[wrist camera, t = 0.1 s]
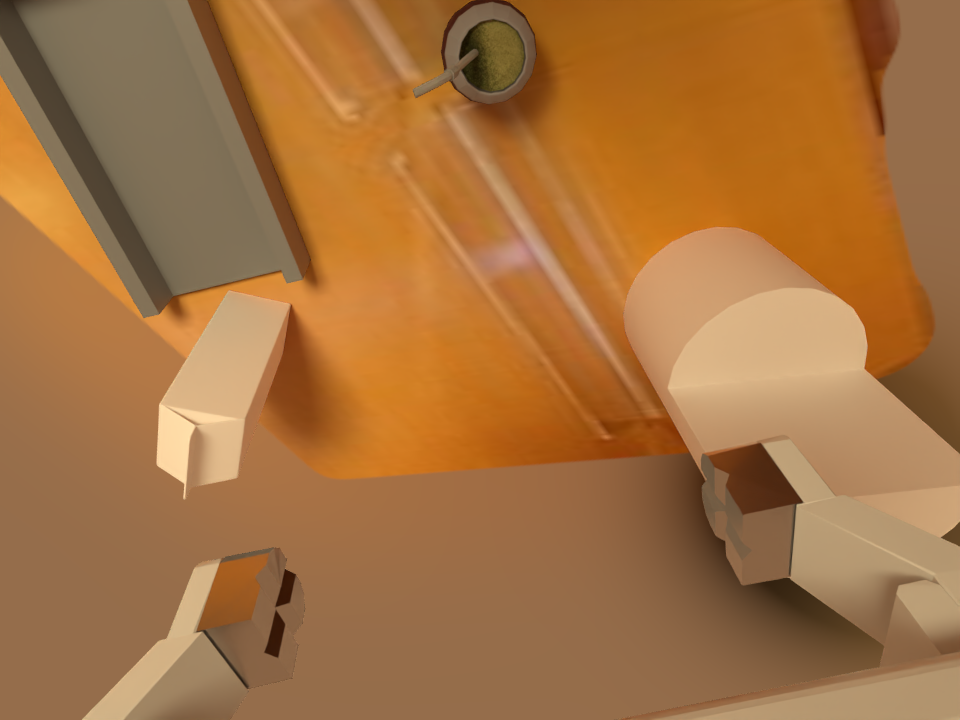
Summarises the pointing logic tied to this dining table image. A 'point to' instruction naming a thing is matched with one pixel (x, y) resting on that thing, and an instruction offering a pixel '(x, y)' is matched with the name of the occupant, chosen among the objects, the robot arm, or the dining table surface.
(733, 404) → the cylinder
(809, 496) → the robot arm
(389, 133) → the dining table surface
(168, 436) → the milk
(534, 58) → the mate gourd
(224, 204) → the trough
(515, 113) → the dining table surface
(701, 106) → the dining table surface
